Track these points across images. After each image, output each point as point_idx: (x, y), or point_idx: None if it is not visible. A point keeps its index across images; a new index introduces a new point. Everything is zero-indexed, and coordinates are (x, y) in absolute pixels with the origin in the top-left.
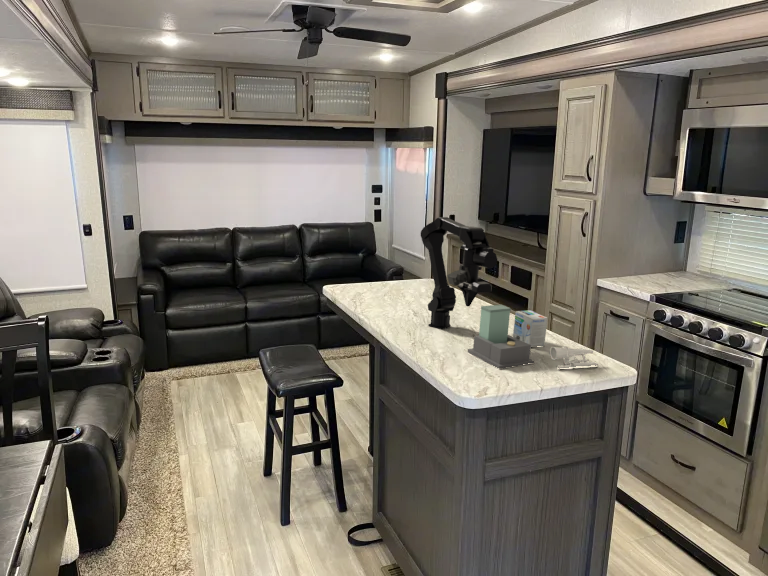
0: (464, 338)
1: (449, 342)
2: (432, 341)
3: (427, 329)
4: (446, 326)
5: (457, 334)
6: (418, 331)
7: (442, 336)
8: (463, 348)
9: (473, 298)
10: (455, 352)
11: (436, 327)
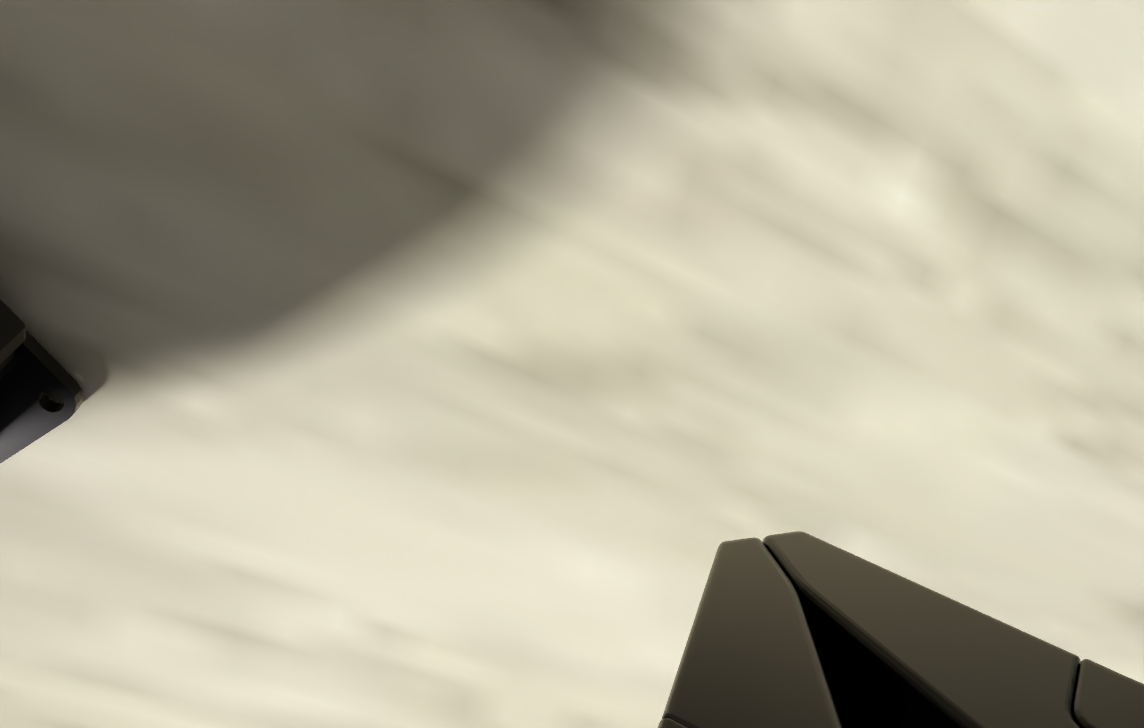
0: (628, 225)
1: (744, 517)
2: (643, 693)
3: (82, 591)
4: (16, 317)
5: (392, 246)
6: (184, 723)
7: (460, 510)
8: (1039, 440)
9: (1050, 682)
10: (1119, 589)
11: (6, 457)
